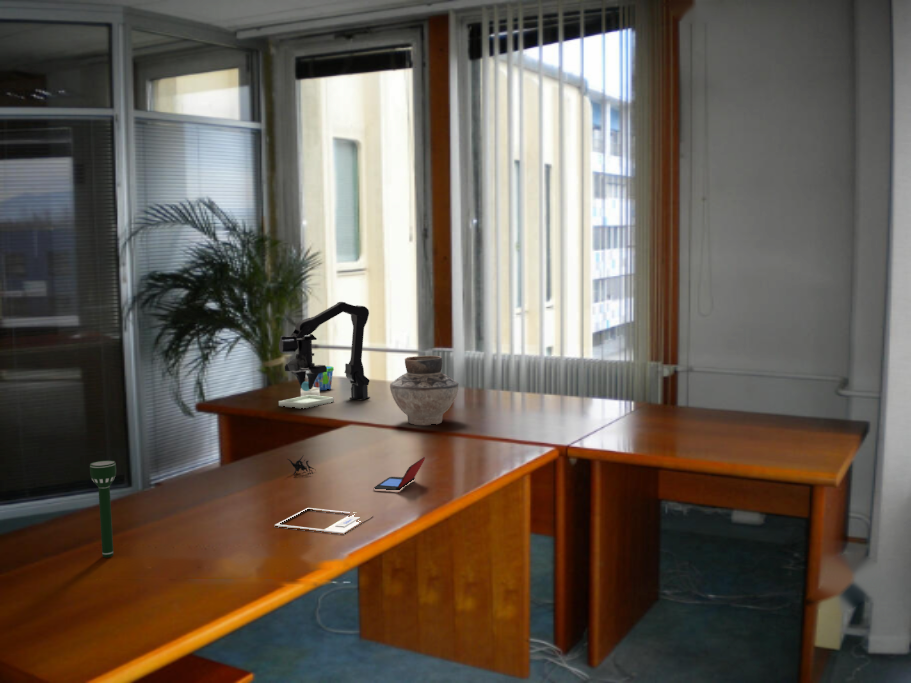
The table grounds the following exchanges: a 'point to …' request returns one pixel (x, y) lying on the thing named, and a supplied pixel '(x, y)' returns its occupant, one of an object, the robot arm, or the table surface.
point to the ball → (305, 386)
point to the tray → (306, 401)
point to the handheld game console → (401, 478)
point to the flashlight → (104, 500)
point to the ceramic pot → (424, 390)
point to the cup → (311, 392)
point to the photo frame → (338, 527)
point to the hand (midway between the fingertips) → (306, 388)
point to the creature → (300, 466)
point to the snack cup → (324, 379)
